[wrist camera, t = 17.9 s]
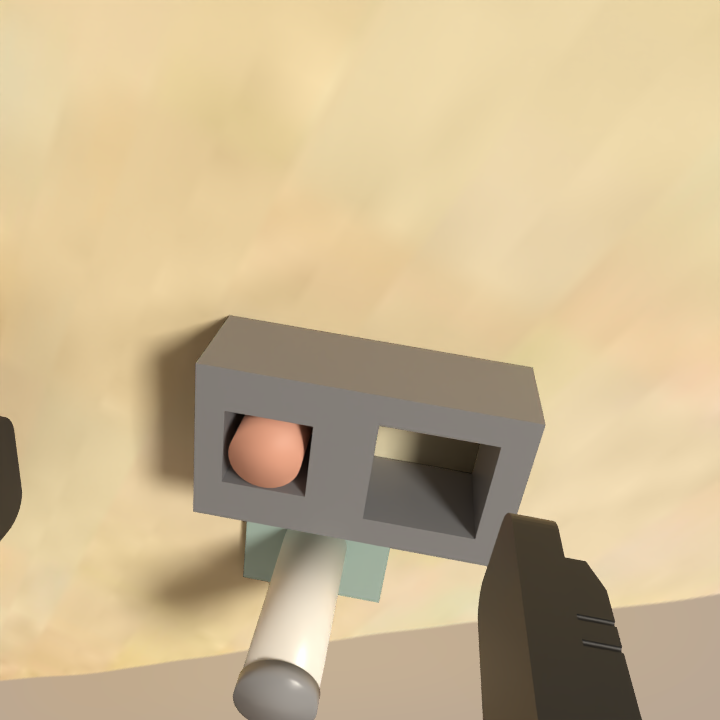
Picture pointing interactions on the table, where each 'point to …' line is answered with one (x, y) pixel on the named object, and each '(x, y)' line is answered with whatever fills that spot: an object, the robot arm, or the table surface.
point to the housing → (366, 437)
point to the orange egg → (268, 450)
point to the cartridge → (292, 631)
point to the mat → (358, 571)
